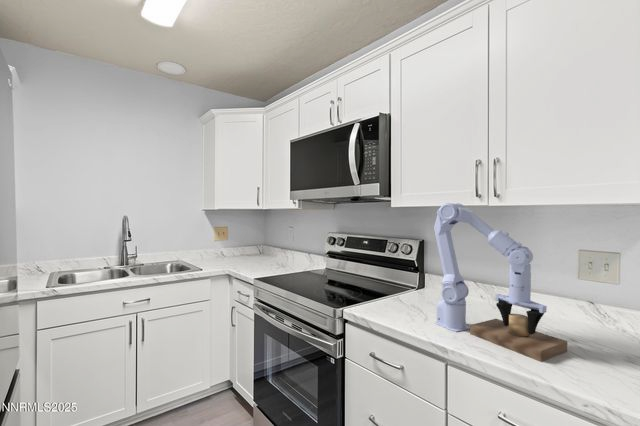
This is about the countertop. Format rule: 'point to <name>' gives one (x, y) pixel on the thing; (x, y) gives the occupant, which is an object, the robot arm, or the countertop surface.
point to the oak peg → (518, 325)
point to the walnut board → (519, 340)
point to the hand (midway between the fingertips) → (518, 329)
